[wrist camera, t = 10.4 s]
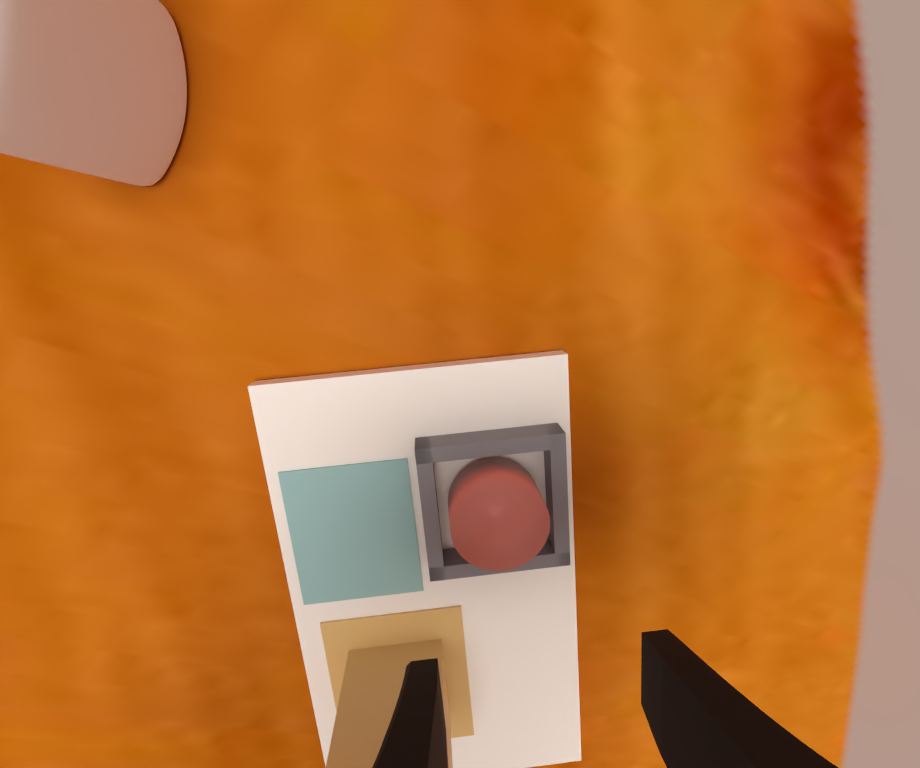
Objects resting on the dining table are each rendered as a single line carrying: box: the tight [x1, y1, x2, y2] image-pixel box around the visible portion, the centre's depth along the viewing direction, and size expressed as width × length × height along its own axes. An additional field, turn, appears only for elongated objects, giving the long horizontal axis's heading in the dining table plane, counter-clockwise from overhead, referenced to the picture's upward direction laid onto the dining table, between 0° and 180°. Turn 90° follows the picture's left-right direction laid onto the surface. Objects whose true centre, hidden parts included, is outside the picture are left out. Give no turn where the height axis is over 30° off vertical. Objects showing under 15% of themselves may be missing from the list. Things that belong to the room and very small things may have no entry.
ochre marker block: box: [326, 639, 453, 768], centre depth 19 cm, size 4×4×7 cm
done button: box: [448, 458, 550, 571], centre depth 19 cm, size 4×4×2 cm
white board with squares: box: [248, 350, 581, 768], centre depth 21 cm, size 20×12×2 cm, turn 5°
